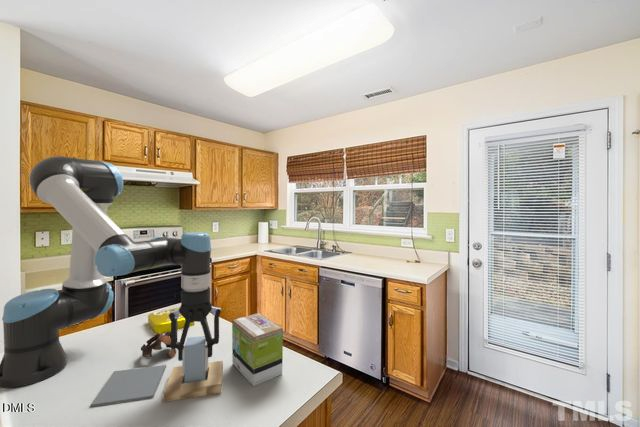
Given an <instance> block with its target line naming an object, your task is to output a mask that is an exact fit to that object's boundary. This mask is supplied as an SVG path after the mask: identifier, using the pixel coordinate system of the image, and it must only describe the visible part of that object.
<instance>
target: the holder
mask: <svg viewBox="0 0 640 427" xmlns="http://www.w3.org/2000/svg"><path fill="white" fill-rule="evenodd" d="M171 369H172V370H171V371H170V375H169V376H168V377H169V378H168V379H167V382H166V386H165V388H164V391H163V402H171V401H178V400H184V399H190V398H196V397H203V396H209V395H217V394H222V390H223V389H222V387H223V385H222V384H223V376H224V374H223V373H224V372H223V371H224V360H219V361H211V362H210V361H208V370H207V371H206V377H207V379H205V380H204V381H197V382H190V383H185V373H184V374H182V365H179V366H172V368H171Z"/></svg>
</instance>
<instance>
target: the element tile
mask: <svg viewBox="0 0 640 427" xmlns="http://www.w3.org/2000/svg"><path fill="white" fill-rule="evenodd" d="M180 307H181V306H180ZM180 307H176V308H171V309H166V310H162V311H156V312H152V313H149V314H148V315H147V326H150V327H149V328H150V330H151V329H152V330H151V332H153V334H154V333H155V334H154V335H156V334H158V333H162V334H163V335H164V334H165V333H167V332H169V331H171V320H170V318H169V314H170V312H171V311H172V310H174V311H175V310H178V309H179V308H180ZM185 321H186V319H185V318H184V317H183V316H182V315H181V314H179V317H178V327H177V331H179V330H183V329H184V325H185ZM190 326H191V327H193V326H195V322H190V325H189V328H190ZM182 328H183V329H182ZM178 329H179V330H178Z"/></svg>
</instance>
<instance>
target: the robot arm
mask: <svg viewBox="0 0 640 427" xmlns="http://www.w3.org/2000/svg"><path fill="white" fill-rule="evenodd" d="M29 186H30V188H31V190H32V192H33V193H34V195H35V196H37V198H38V199H39V200H40V201H42V202H43V203H46V204H48V205H51V206H52V207H53V208H54V209H55V210H56V211H57V213H59V214H60V216H61V217H63V218H64V220H65V221H66V222H67V223H68V224H69V225H70V226H71V227H72V231H71V244H70V258H69V259H70V262H69V272H68V274H69V275H68V277H67V278H65V279H64V280H63V281H62V286H61V290H60V291H59V290H58V289H56V288H43V289H42V288H41V289H39V290H38V289H37V290H36V289H35V290H33V291H28V292H26V293H23V294H20V295H17V296H15V297H12V298H11V299H9V301H7V302H6V303H5V304H4V307H3V315H2V318H1V319H2V323H3V347H4V349H3V350H4V351H3V352H4V353H3V356H2V357H1V358H2V359H1V361H0V388H9V389H10V388H17V387H22V386H27V385H31V384H35V383H38V382H41V381H43V380H47V379H49V378H51V377H53V376H54V375H56V374H58V373H60V372H61V371H62V370H64V369H65V368H66V367H67V364H68V355H67V353H66V352H65V350H64V348H63V346H62V343H61V342H60V330H62V329H65V328H68V327H72V326H74V325H77V324H80V323H82V322H86V321H89V320H93V319H96V318H97V317H100V316H102V315H104V314H105V313H107V312H108V311H109V309H111V307H112V305H113V301H114V290H112V289H113V288H112V285H111V284H110V283H109V282H107V279H106V278H105V277H108V278H110V277H111V278H112V277H118V276H125V275H128V274H131V273H137V272H141V271H144V270H148V269H154V268H158V267H163V266H166V265H173V266H180V267H181V269H180V270H181V271H180V272H181V273H180V275H181V277H180V278H181V280H180V281H181V282H180V284H181V285H180V288H181V289H182V290H181V291H180V308H179V307H178V308H179V309H178V310H175V311H174V310H172V311H171V312H170V314H169V318H170V320H171V348H172V349H174V348H175V349H176V350H177V352H178V353H177V356H178V357H177V358H178V362H182V365H181V366H182V374H184V373H185V344H186V340H187V335H188V331H189V330H190V329H189V328H190V327H189V325H190V322H194V323H195V322H197V323H198V322H199V323H200V324H201V328H202V332H203V336H205V339H206V345H205V371H207V370H208V363H209V358H212V356H213V346H214V345H217V344H219V342H220V315H221V312H222V307H221V306H216V307H215V306H213V304H212V303H211V288H210V286H211V252H212V244H211V235H210V234H209V233H207V232H200V231H198V232H197V231H194V232H193V231H191V232H184V233H182V235H181V238H176V237H175V238H174V237H167V236H163V237H162V236H160V237H153V238H151V239H150V240H149V239H148V240H142V241H134V240H133V239H132V238H131V237H130V236H129V235H128V234H127V233H126V232H124V230H123V229H121V228H120V227H119V225H117V223H115V222H114V221H113V220H112V219H111V218H110V216H108V213H107V212H108V208H109V207H110V206H111V205H113V204H114V198H115V197H118V196H120V195H121V192H123V189H124V179H123V175H122V172H121V171H120V170H119V168H118V167H117V166H115V165H114V164H112V163H110V162H105V161H102V160H101V161H100V160H95V159H94V160H93V159H84V158H79V157H78V158H77V157H69V156H62V155H60V156H59V155H57V156H50V157H47V158H43V159H42V160H40V161H39V162H37V163H36V164H35V165H34V166H33V167H32V169H31V170H30V173H29ZM210 313H212V316H214V317H213V336H214V337H213V338H212V333H211V330H210V326H209V323H208V319H207V317H208V315H209V314H210ZM179 314H181V315H182V316H183V317H184V318H185V319H186V321H185V325H184V328H183V329H182V333H181V335H180V339H179V341H178V330H177V327H178V317H179Z"/></svg>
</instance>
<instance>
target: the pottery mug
mask: <svg viewBox="0 0 640 427" xmlns="http://www.w3.org/2000/svg"><path fill="white" fill-rule="evenodd" d="M162 343H163V344H164V345H165V347H166V348H168V349H169V348H171V331H169V332H167V333H163V334H162V333H158V334H154V335H153V336H151V337H150V338H149V339H148V340H146V344H145V343H143V344H142V346H141V347H140V351H141V352H142V353H141V356H142V357H146V356H149V357H152V355H153V354H152V353H153V350H154V351H161V350H162V349H163V347H162ZM176 354H177V349H176V348H174V349H172V348H171V349H170V350H169V352H168V356H169V358H170V359H171V360H172V359H173V358H174V357H175V356H176Z"/></svg>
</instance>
